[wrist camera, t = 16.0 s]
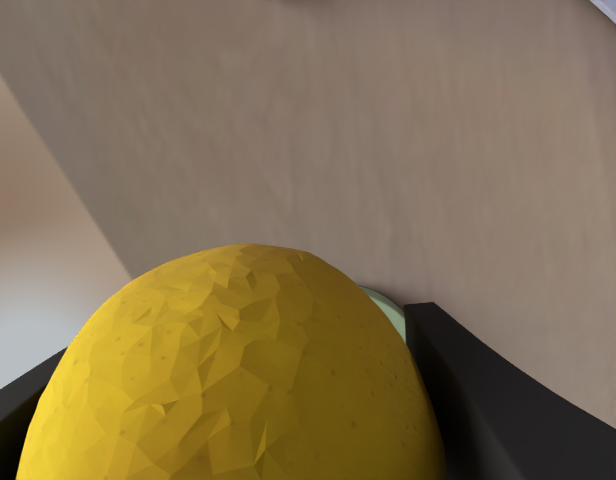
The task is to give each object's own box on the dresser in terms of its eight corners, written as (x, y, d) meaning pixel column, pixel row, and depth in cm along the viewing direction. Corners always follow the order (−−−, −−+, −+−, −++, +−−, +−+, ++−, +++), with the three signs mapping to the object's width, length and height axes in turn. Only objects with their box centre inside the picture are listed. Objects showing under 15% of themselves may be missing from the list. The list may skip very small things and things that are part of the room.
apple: (361, 415, 13) (430, 917, 5) (145, 382, 12) (-118, 872, 5) (423, 215, 10) (721, 620, 3) (156, 166, 10) (-343, 478, 2)
